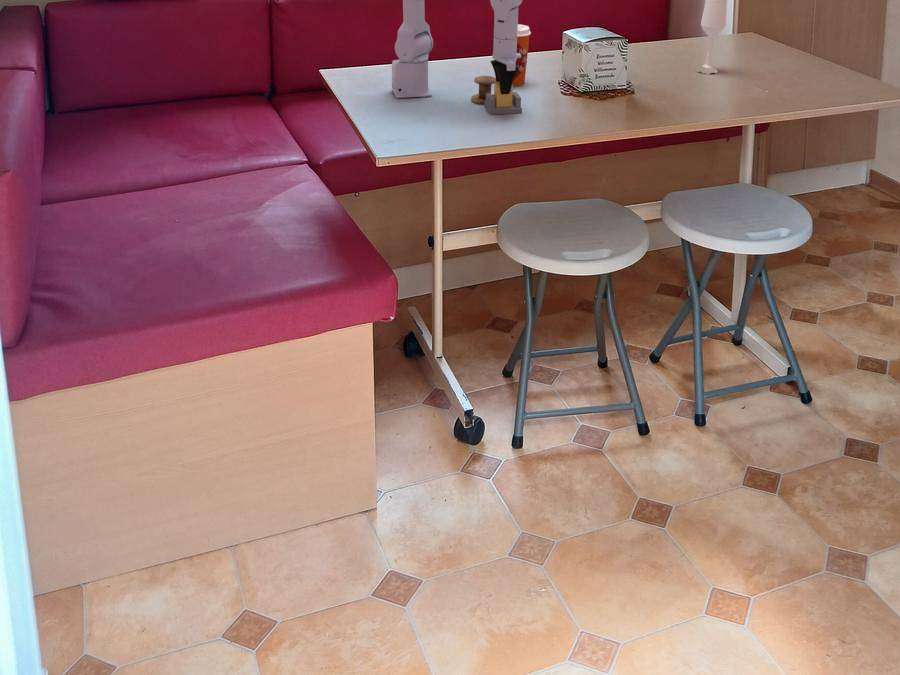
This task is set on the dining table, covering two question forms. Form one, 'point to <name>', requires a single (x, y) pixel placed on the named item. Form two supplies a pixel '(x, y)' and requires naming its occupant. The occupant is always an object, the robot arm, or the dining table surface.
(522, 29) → the coffee cup
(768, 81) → the dining table surface
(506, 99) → the yellow upright block
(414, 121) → the dining table surface
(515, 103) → the grey cradle
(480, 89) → the bobbin
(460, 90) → the dining table surface
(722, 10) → the champagne flute
